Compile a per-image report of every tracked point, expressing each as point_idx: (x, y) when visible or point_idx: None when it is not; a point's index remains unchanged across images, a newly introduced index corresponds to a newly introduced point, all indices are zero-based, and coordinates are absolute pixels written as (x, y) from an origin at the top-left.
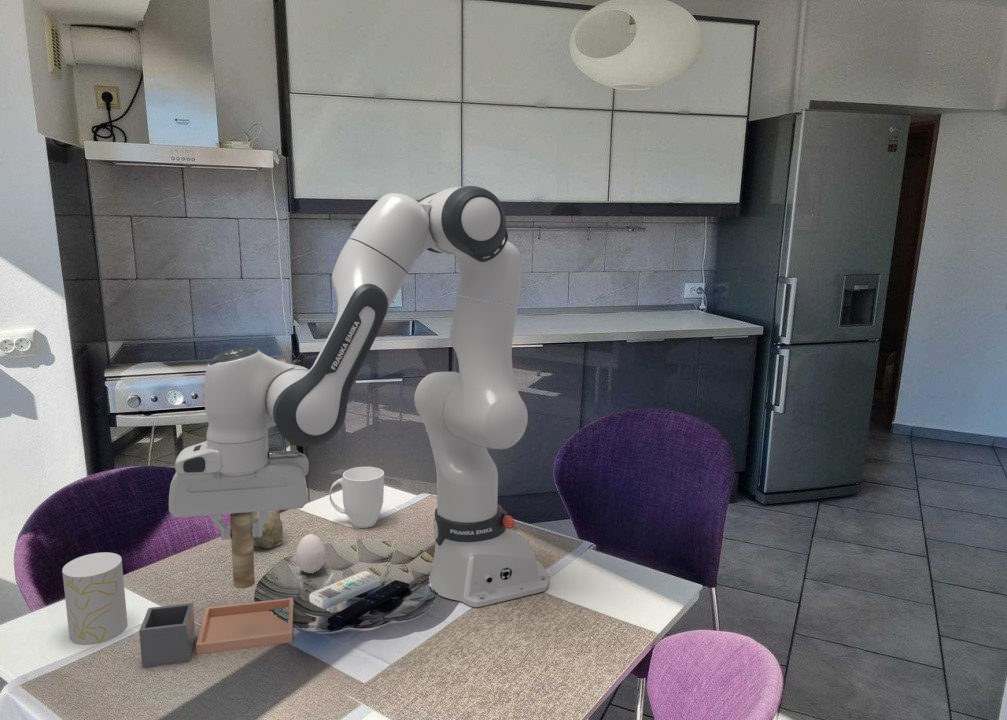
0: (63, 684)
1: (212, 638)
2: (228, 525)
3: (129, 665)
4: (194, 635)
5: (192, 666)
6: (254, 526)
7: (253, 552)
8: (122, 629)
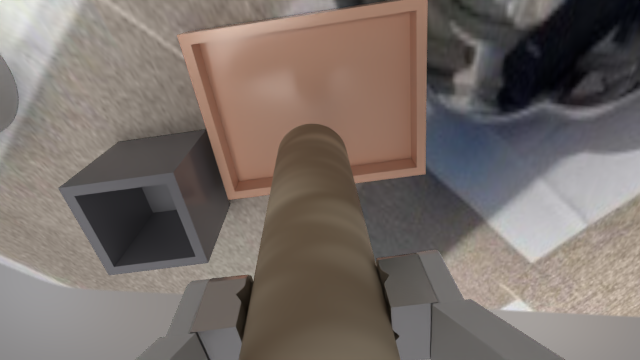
0: (33, 237)
1: (244, 140)
2: (214, 330)
3: None
4: (203, 147)
5: (236, 208)
6: (410, 345)
7: (362, 212)
8: (5, 96)
